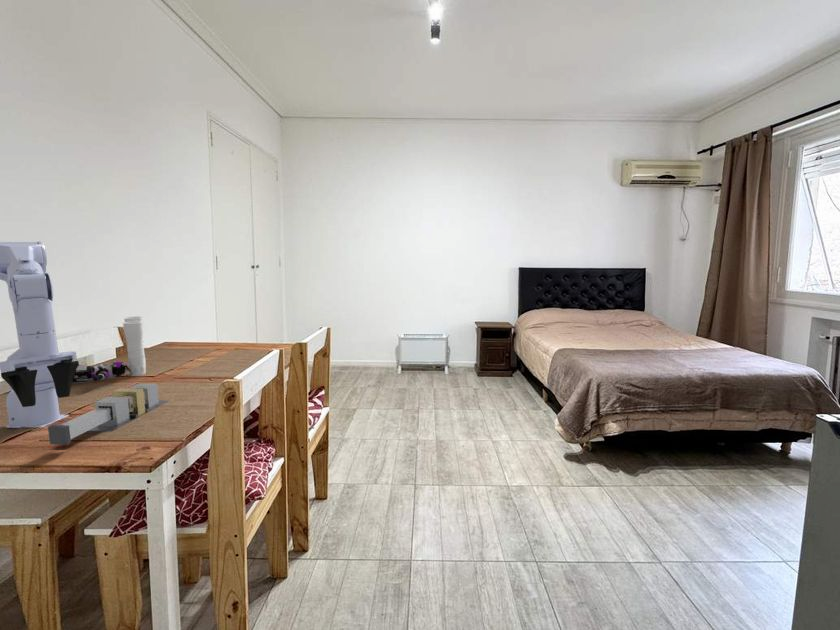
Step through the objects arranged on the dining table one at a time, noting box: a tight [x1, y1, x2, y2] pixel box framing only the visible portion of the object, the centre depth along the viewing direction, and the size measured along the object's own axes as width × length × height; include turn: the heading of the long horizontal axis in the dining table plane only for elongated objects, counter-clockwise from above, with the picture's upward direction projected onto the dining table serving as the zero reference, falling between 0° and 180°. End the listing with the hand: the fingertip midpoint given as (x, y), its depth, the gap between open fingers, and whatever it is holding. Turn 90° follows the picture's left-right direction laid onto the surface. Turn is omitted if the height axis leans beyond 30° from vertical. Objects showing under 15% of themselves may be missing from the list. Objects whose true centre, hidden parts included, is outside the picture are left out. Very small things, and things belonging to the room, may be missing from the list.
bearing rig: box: [87, 382, 169, 432], centre depth 113 cm, size 7×21×6 cm, turn 175°
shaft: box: [47, 398, 130, 446], centre depth 102 cm, size 4×19×4 cm, turn 175°
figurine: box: [71, 361, 132, 385], centre depth 143 cm, size 24×7×29 cm
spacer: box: [111, 387, 145, 417], centre depth 113 cm, size 6×2×6 cm, turn 85°
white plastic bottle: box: [122, 315, 147, 377], centre depth 156 cm, size 17×5×18 cm, turn 31°
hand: (47, 401), depth 90 cm, fingers open, 7 cm apart
